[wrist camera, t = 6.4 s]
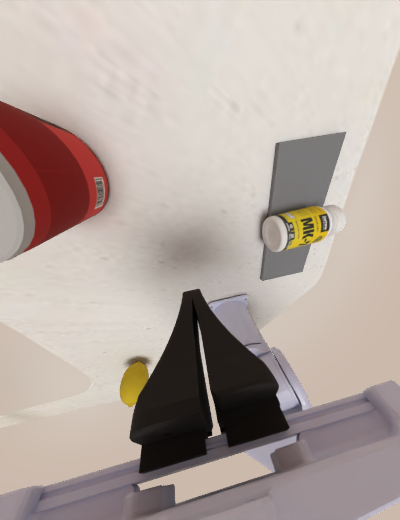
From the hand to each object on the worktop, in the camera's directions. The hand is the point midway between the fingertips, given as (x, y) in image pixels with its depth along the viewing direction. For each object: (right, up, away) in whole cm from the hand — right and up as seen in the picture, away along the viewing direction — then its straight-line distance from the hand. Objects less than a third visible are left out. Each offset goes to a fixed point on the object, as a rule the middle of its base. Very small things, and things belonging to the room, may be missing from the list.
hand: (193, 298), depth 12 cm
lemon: (-14, -21, +23) cm, 34 cm away
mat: (+14, +9, +10) cm, 20 cm away
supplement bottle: (+10, +6, +7) cm, 13 cm away
